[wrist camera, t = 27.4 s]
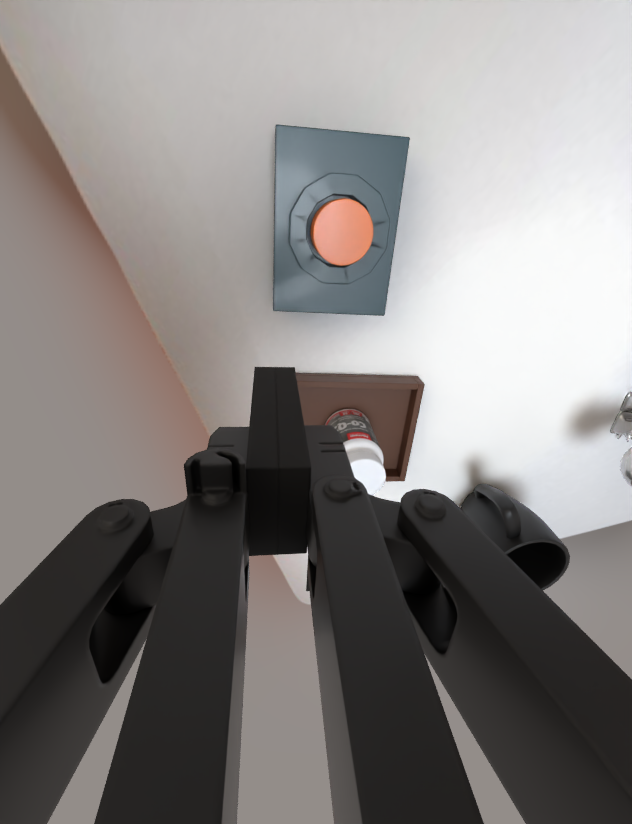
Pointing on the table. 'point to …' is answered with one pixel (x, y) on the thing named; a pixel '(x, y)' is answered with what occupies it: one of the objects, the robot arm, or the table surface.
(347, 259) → the console button
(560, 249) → the table surface
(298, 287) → the console
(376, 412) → the tray
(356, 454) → the pill bottle
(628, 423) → the robot toy
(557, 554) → the mug
